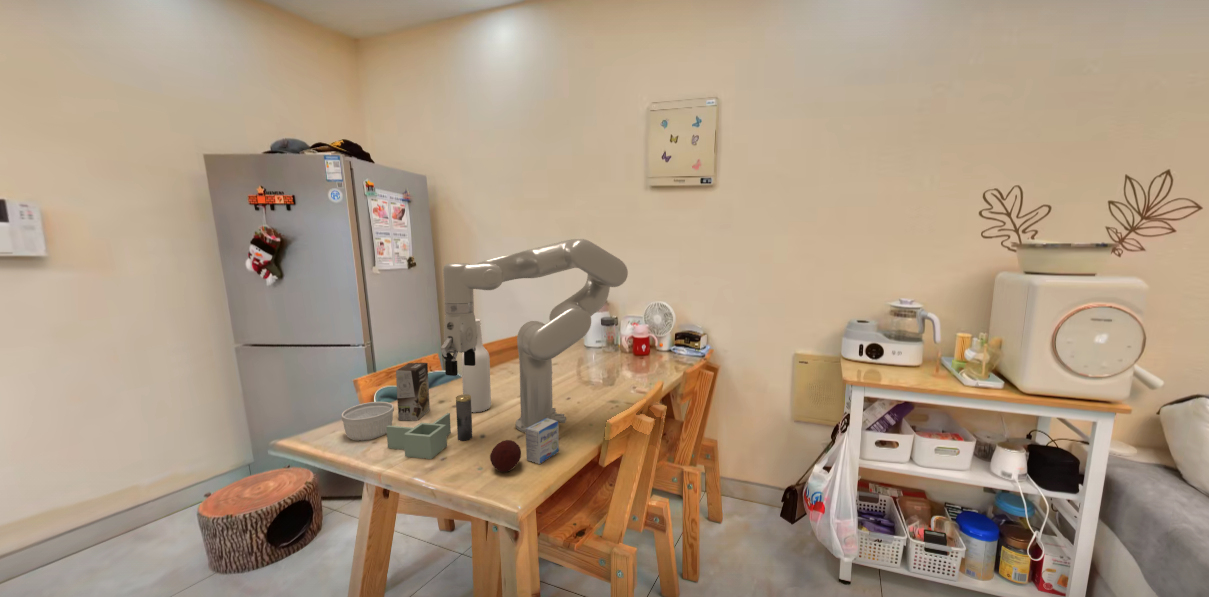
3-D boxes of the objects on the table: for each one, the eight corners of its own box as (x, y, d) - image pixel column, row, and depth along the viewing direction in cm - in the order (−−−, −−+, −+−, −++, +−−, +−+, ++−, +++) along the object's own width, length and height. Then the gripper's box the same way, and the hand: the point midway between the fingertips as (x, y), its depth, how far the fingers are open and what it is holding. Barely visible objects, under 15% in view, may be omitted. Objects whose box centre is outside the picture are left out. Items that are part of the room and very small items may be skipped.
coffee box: (418, 421, 132) (415, 370, 130) (397, 420, 132) (394, 370, 130) (430, 409, 141) (428, 362, 139) (411, 409, 141) (408, 362, 139)
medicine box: (539, 465, 106) (538, 431, 105) (525, 460, 108) (525, 427, 107) (559, 452, 112) (558, 420, 111) (546, 448, 115) (545, 417, 114)
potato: (522, 457, 109) (521, 432, 108) (520, 475, 101) (519, 447, 100) (492, 459, 108) (492, 433, 107) (488, 477, 100) (487, 449, 99)
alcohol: (481, 414, 137) (477, 322, 133) (458, 411, 140) (454, 321, 136) (496, 405, 145) (493, 318, 141) (474, 402, 148) (470, 316, 144)
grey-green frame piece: (461, 433, 123) (460, 413, 122) (431, 459, 108) (429, 436, 108) (414, 429, 126) (413, 410, 125) (379, 453, 111) (377, 431, 110)
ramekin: (366, 446, 116) (364, 421, 115) (331, 438, 120) (329, 415, 119) (405, 427, 128) (403, 404, 127) (371, 420, 132) (370, 399, 132)
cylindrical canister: (475, 435, 122) (473, 394, 121) (468, 441, 118) (466, 399, 117) (462, 434, 123) (460, 393, 121) (454, 440, 119) (453, 398, 118)
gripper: (455, 314, 107) (457, 380, 109) (486, 305, 124) (487, 362, 126) (428, 312, 108) (430, 378, 110) (462, 304, 125) (464, 361, 127)
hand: (461, 370), depth 118 cm, fingers open, 9 cm apart
